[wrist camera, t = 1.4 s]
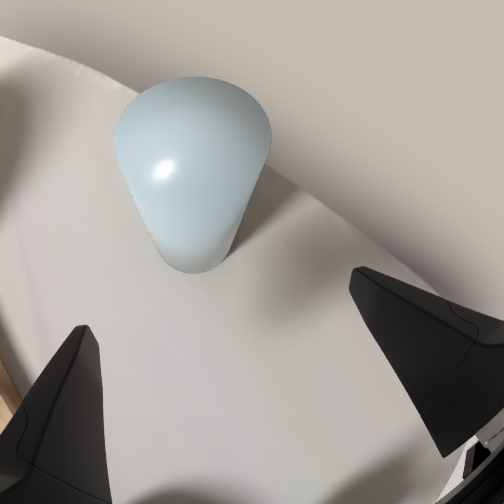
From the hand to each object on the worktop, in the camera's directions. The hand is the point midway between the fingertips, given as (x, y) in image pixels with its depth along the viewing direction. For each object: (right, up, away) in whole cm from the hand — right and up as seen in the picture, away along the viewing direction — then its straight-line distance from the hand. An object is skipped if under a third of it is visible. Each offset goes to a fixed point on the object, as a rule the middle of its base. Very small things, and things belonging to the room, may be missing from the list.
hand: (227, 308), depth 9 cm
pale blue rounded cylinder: (-4, +3, +13) cm, 14 cm away
